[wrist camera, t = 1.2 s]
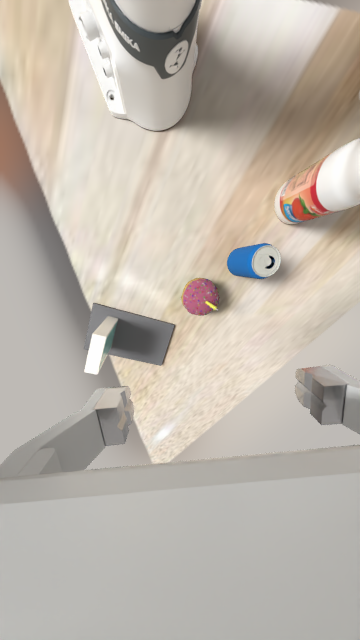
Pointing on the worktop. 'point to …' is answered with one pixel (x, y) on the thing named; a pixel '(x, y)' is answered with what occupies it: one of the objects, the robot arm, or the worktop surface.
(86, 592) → the robot arm
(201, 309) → the cupcake
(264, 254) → the beverage can
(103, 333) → the tile
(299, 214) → the fruit juice
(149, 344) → the mat
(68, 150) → the worktop surface
